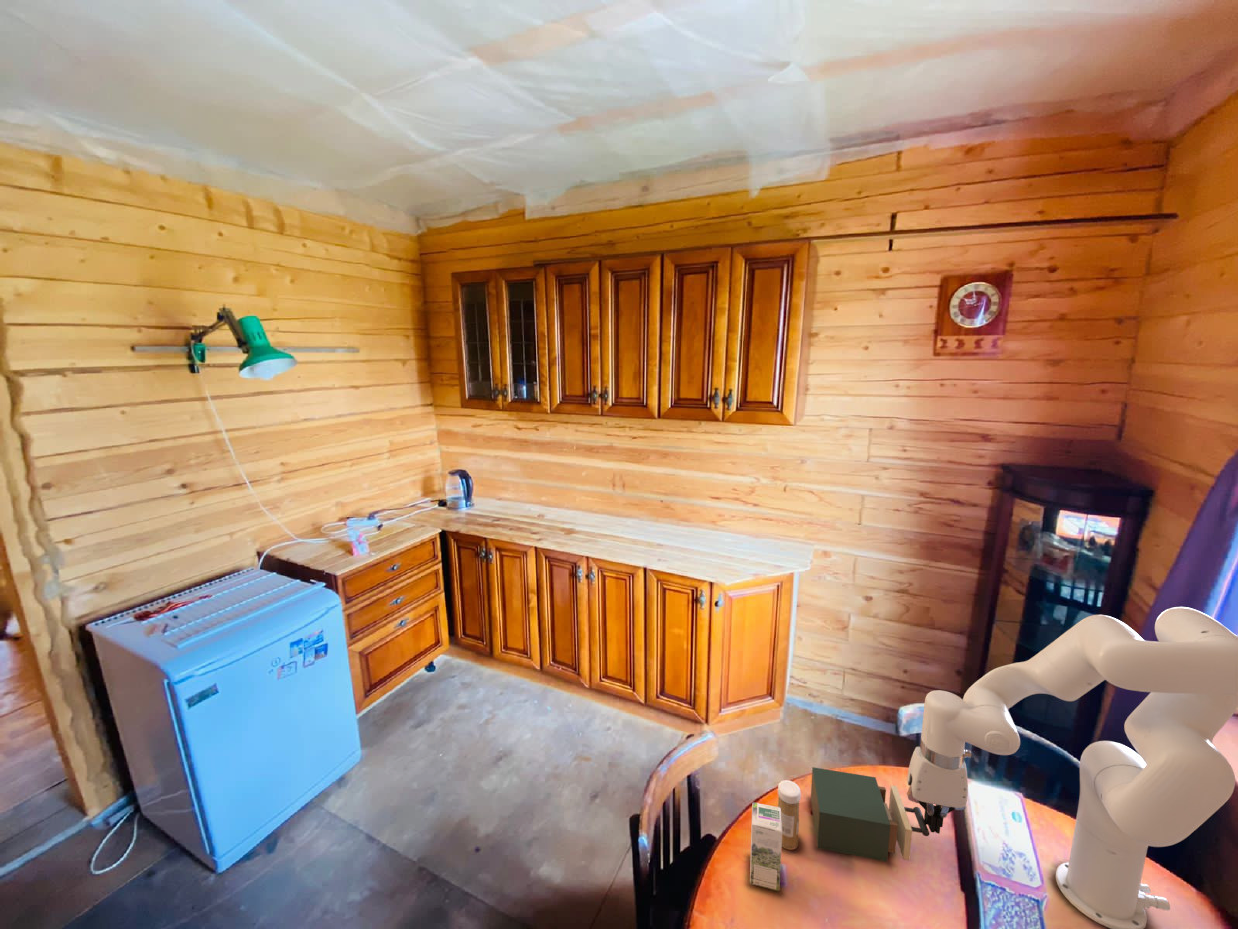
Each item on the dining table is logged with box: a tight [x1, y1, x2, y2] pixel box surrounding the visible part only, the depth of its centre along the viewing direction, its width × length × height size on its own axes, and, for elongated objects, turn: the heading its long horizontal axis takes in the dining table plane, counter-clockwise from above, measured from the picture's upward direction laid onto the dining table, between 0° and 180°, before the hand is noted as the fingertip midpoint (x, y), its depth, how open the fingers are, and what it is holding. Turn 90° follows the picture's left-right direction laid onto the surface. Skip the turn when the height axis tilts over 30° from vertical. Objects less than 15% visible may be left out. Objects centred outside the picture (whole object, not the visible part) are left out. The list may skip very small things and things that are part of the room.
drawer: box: [878, 784, 931, 861], centre depth 109 cm, size 17×11×7 cm
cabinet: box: [810, 766, 890, 863], centre depth 111 cm, size 14×13×9 cm
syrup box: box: [749, 801, 783, 892], centre depth 100 cm, size 6×6×14 cm
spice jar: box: [777, 779, 802, 850], centre depth 108 cm, size 5×5×14 cm
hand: (932, 827), depth 107 cm, fingers closed
